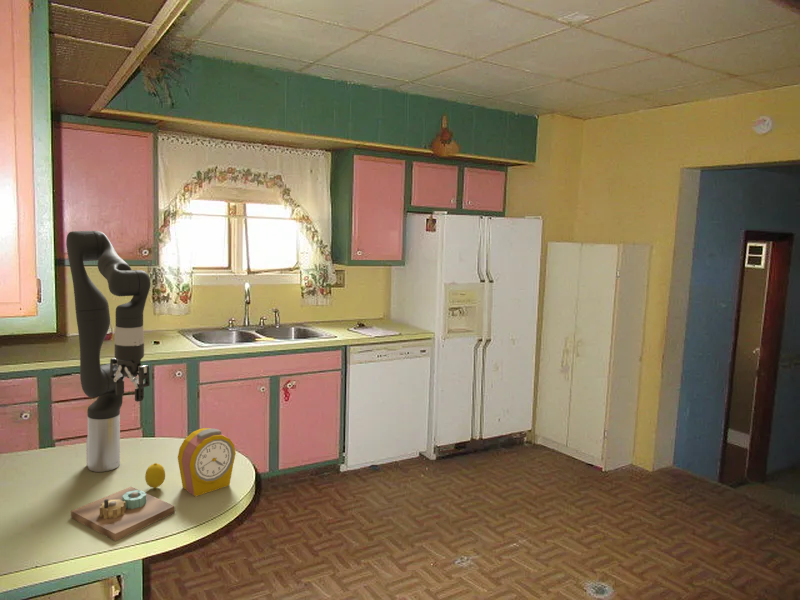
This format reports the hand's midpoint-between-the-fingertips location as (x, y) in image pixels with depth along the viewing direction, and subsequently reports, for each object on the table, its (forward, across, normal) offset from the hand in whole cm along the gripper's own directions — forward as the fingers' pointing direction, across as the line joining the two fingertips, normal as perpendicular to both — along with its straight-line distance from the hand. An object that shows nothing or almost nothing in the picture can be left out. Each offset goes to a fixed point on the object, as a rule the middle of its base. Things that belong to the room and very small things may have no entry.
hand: (129, 397), depth 167 cm
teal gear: (+28, +7, -4) cm, 29 cm away
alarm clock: (+30, +12, +18) cm, 37 cm away
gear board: (+30, +8, -7) cm, 32 cm away
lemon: (+30, +1, +8) cm, 31 cm away
